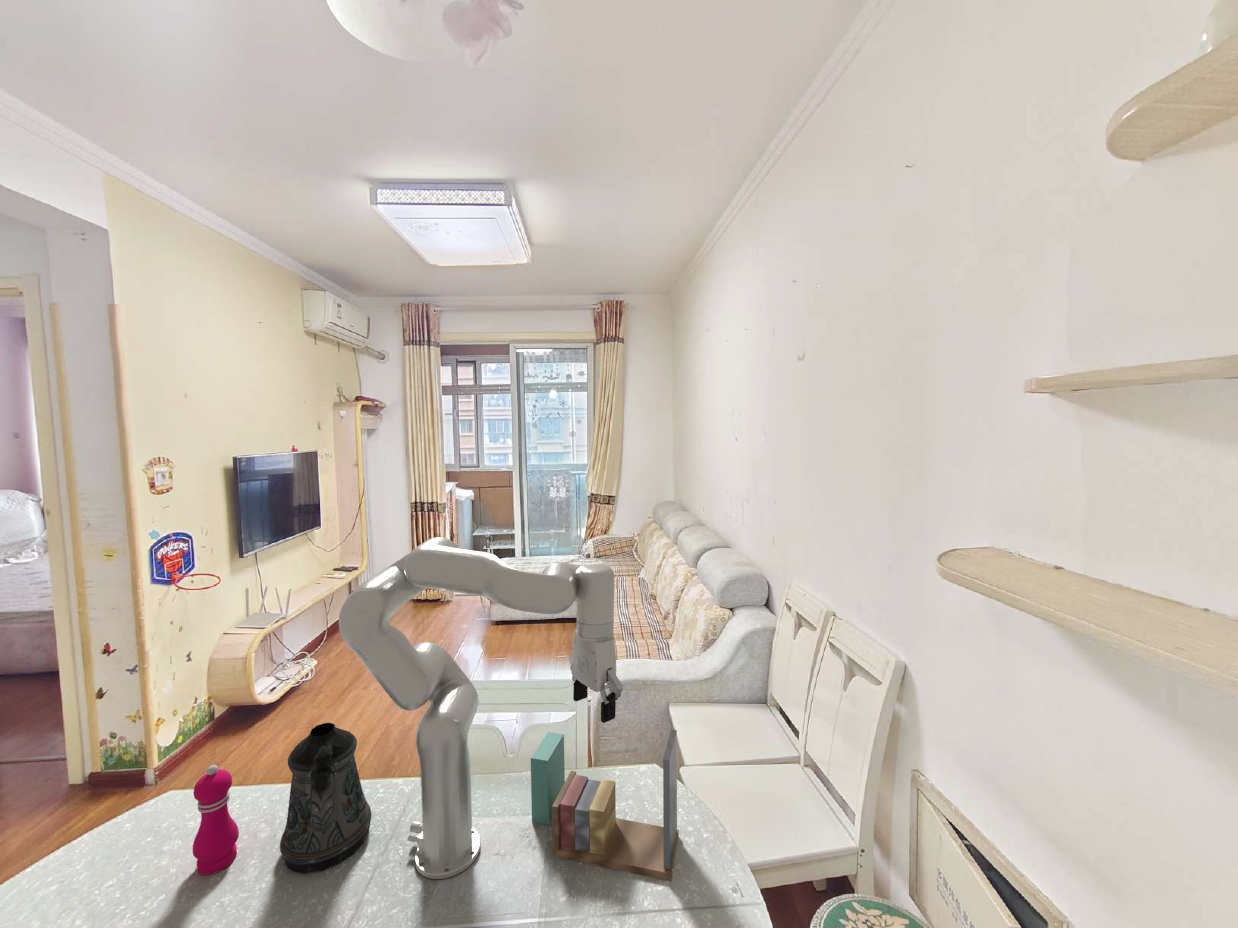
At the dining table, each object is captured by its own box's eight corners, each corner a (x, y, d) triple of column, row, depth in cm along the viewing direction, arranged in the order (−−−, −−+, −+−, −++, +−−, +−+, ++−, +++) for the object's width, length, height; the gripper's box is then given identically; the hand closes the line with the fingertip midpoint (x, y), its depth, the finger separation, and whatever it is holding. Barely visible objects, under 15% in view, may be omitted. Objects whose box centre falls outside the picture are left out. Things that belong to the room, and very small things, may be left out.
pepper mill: (184, 871, 98) (179, 773, 97) (224, 843, 105) (219, 751, 104) (209, 882, 96) (203, 781, 95) (248, 852, 103) (243, 758, 102)
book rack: (553, 855, 101) (552, 806, 101) (571, 815, 112) (570, 770, 111) (670, 881, 95) (670, 828, 95) (678, 836, 106) (678, 788, 106)
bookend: (663, 868, 96) (663, 759, 95) (671, 828, 106) (671, 729, 105) (669, 869, 96) (669, 760, 95) (676, 829, 106) (676, 729, 104)
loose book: (531, 821, 111) (530, 757, 110) (549, 790, 120) (548, 731, 120) (548, 824, 110) (547, 760, 109) (564, 792, 119) (563, 734, 119)
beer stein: (347, 802, 117) (343, 697, 116) (395, 839, 106) (391, 724, 105) (266, 850, 103) (260, 733, 102) (311, 899, 92) (305, 768, 91)
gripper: (556, 618, 106) (555, 697, 107) (605, 646, 92) (604, 736, 93) (586, 611, 111) (584, 686, 112) (636, 636, 97) (635, 722, 98)
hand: (593, 709), depth 102 cm, fingers open, 9 cm apart
